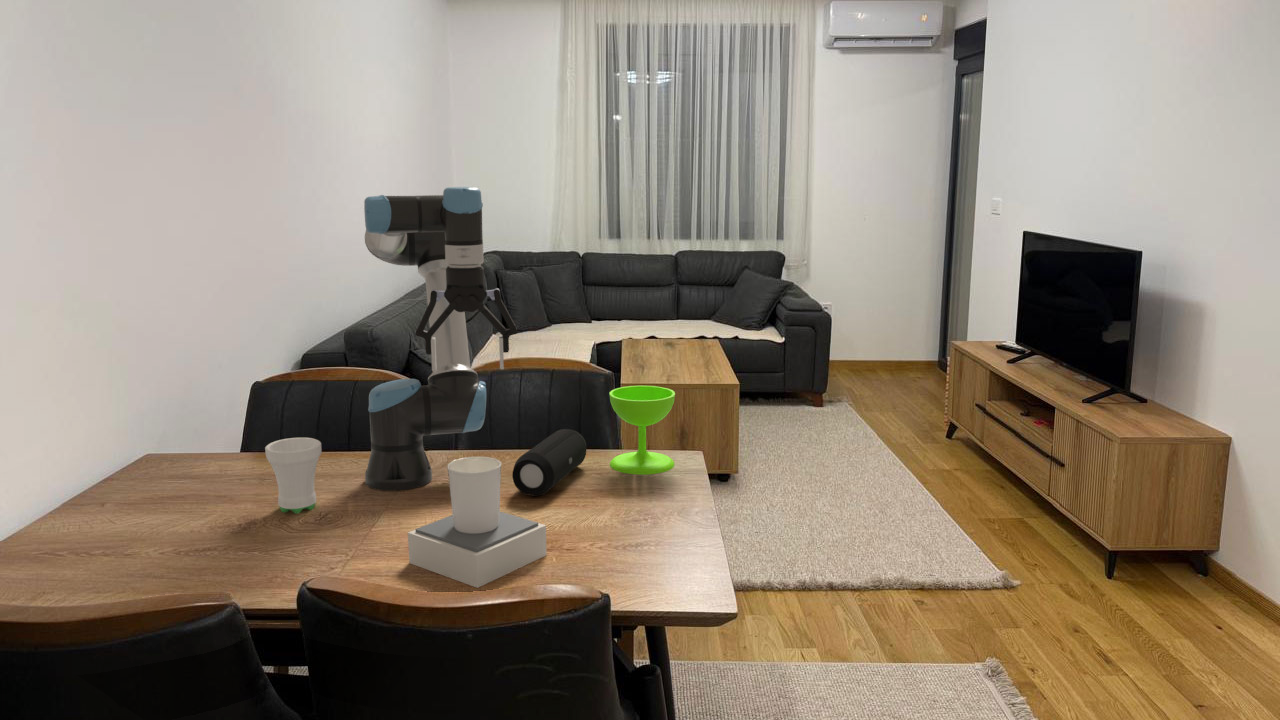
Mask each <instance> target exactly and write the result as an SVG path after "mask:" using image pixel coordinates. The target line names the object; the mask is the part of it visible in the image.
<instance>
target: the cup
mask: <svg viewBox="0 0 1280 720" xmlns="http://www.w3.org/2000/svg"><path fill="white" fill-rule="evenodd" d="M264 450H265V457H266V460H267V461H268V462H269V464H270V466H271V467H272V470H273V473H274V476H275V479H276V483H277V489H278V497H277V502H278V503H277V504H278V506H279V509H280V511H281V512H282V513H289V511H292V513H294V514H297V515H299V514H300V513H302V511H303V510H304V509H305V510H307V511H312V510H314V509H315V506H316V503H317V493H316V491H315V478H316V477H315V476H316V469H317V465H318V461H319V458H320V456H322V442H321V441H320V440H318V439H317V438H316V439H315V438H312V437H291V438H284V439H283V438H282V439H279V440H275V441H273V442H270V443H268V444H267V445H266V446H265V447H264Z"/></svg>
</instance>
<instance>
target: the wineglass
mask: <svg viewBox="0 0 1280 720" xmlns="http://www.w3.org/2000/svg"><path fill="white" fill-rule="evenodd" d="M608 395H609V401H610V404H611V407H612V409H613V411H614V412H615V414H616V415H617V416H618V417H619V418H620V419H621V420H622V421H623V422H626V423H627V424H629V425H633V426H637V428H638V430H637V431H638V432H637V433H638V447H637V448H638V449H637V451H630V452H623V453H621V454H619V455H617V456H614V457H613V458H612V459H611V460H610V462H609V466H610V468H611V469H612V470H614V471H616V472H619V473H622V474H628V475H636V476H637V475H640V476H644V475H647V476H648V475H657V474H661V473H665V472H668V471H671V470H672V469H674V467H675V466H676V465H675V461H674V460H673V459H672V458H671V457H670V456H668V455H666V454H663V453H660V452H654V451H648V450H647V427H648V426H652V425H655V424H658V423H659V422H661V421H662V420H664V419H665V417H667V416H668V414H669V412H671V411H672V408H673V406H674V403H675V397H676V391H674V390H673V389H671V388H667V387H662V386H656V385H629V386H628V385H627V386H621V387H617V388H614V389H612V390H610V391H609V394H608Z"/></svg>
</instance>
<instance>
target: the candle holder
mask: <svg viewBox="0 0 1280 720" xmlns="http://www.w3.org/2000/svg"><path fill="white" fill-rule="evenodd" d="M446 468H447V472H448V473H447V474H448V475H447V476H448V483H449V494H450V502H451V512H452V514H451V515H453V523H454V528H455V529H456V530H457V531H459V532H462V533H467V534H480V533H486V532H489V531H492V530H494V529H496V528H497V527H498V525H499V514H500V512H501V509H500V508H501V507H500V506H501V479H502V478H501V474H502V473H501V472H502V461H500V460H499V459H497V458H494V457H490V456H467V457H466V456H465V457H461V458H458V459H454V460H452V461H450V462H449V463H448V464H447V465H446Z"/></svg>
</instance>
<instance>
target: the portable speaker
mask: <svg viewBox="0 0 1280 720" xmlns="http://www.w3.org/2000/svg"><path fill="white" fill-rule="evenodd" d="M586 455H587V443H586V440H585V438H584V436H583V435H581V433H579V431H576V430H574V429H571V428H570V429H569V428H562V429H559V430H556V431H555V432H553V433H552V434H550V435H549V436H548V437H546V438H545V439H543V440H542V441H540V442H539V443H538V444H536V445H535V446H534V447H531V448H530V449H529V450H528V451H527V452H524V453H523V454H522V455H521V456H519V457H518V459H516V461H515V463H514V465H513V469H512V475H511V476H512V477H511V478H512V480H513V483H514V486H515V487H516V489H517V490H518V491H519V492H521V493H522V494H524V495H527V496H534V497H535V496H536V497H537V496H543V495H545V494H546V493H548V492H550V490H551V489H552V488H553V487H554V486H555V485H557V484H558V483H559V482H560V481H561V480H563V479H564V478H565V477H566V476H568V475H569V474H570V473H571V472H573V471H574V469H576V468H578V466H580V465H581V464H582V463H583V462H584V461H585V458H586Z"/></svg>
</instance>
